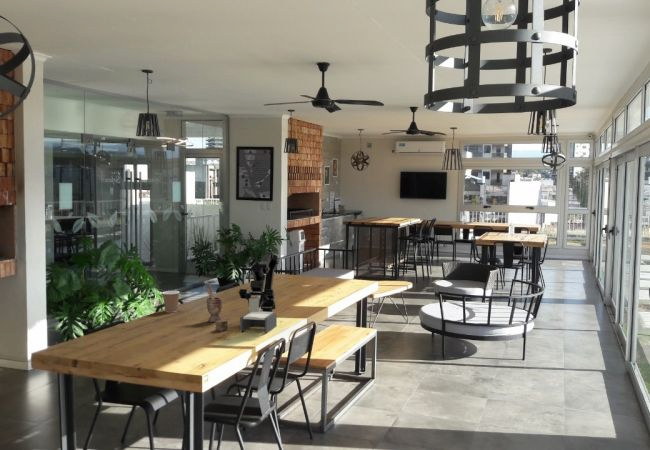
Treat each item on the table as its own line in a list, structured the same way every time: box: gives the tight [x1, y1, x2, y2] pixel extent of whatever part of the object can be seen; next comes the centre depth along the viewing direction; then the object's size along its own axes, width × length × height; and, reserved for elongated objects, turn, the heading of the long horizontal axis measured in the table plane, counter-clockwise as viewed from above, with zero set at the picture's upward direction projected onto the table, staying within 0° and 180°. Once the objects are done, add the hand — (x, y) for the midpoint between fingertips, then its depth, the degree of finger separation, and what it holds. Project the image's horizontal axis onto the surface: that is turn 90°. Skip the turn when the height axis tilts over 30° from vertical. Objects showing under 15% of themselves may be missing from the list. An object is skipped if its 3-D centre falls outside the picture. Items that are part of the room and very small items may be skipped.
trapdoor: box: [243, 311, 274, 320], centre depth 340 cm, size 16×12×3 cm
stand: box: [215, 319, 228, 332], centre depth 338 cm, size 4×4×5 cm
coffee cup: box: [162, 290, 180, 313], centre depth 387 cm, size 10×10×12 cm
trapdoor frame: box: [239, 311, 278, 334], centre depth 340 cm, size 16×15×8 cm
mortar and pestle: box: [205, 285, 223, 323], centre depth 360 cm, size 12×9×20 cm
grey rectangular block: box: [248, 296, 262, 312], centre depth 334 cm, size 5×5×7 cm
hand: (254, 307), depth 333 cm, fingers closed on grey rectangular block, 5 cm apart
